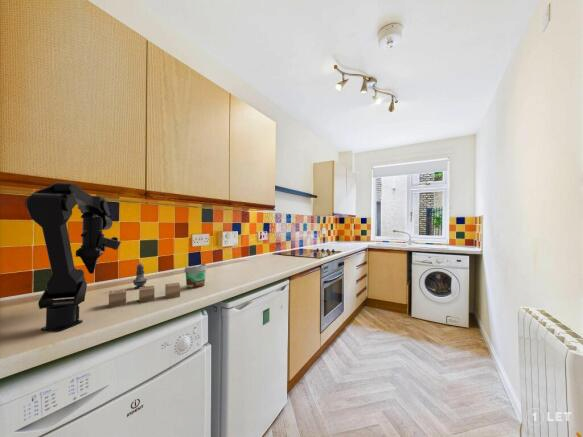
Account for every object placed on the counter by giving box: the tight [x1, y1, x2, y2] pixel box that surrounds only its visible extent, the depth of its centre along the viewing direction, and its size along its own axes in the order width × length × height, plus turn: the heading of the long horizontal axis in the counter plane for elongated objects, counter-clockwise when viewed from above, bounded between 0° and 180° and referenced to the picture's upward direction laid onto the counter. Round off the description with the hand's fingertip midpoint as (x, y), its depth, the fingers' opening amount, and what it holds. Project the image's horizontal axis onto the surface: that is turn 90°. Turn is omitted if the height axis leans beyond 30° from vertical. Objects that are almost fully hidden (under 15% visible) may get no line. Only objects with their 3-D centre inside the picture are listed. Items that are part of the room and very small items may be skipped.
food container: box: [184, 263, 208, 290], centre depth 114 cm, size 12×6×10 cm, turn 161°
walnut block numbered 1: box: [164, 282, 181, 300], centre depth 98 cm, size 5×5×5 cm
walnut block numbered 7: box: [108, 288, 127, 309], centre depth 88 cm, size 5×5×5 cm
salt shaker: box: [132, 262, 148, 290], centre depth 112 cm, size 6×6×12 cm
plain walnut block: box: [138, 285, 155, 304], centre depth 93 cm, size 5×5×5 cm
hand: (91, 273), depth 86 cm, fingers closed
